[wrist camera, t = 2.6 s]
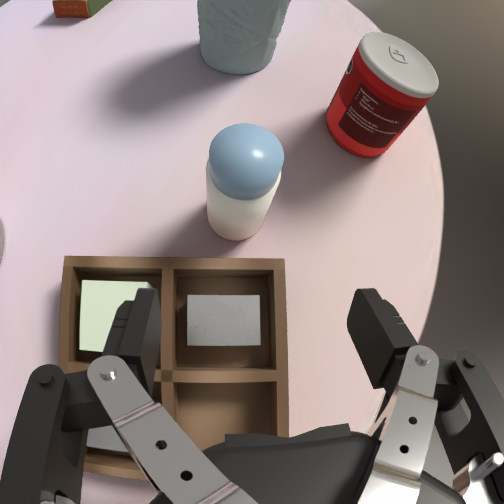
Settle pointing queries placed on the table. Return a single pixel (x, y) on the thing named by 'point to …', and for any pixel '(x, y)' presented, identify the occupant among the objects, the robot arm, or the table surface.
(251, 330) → the grey rectangular block
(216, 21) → the green cup
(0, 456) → the table surface
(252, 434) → the robot arm
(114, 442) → the eraser
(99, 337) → the note block
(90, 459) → the organizer
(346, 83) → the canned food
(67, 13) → the carton
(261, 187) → the glue stick
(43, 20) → the table surface
